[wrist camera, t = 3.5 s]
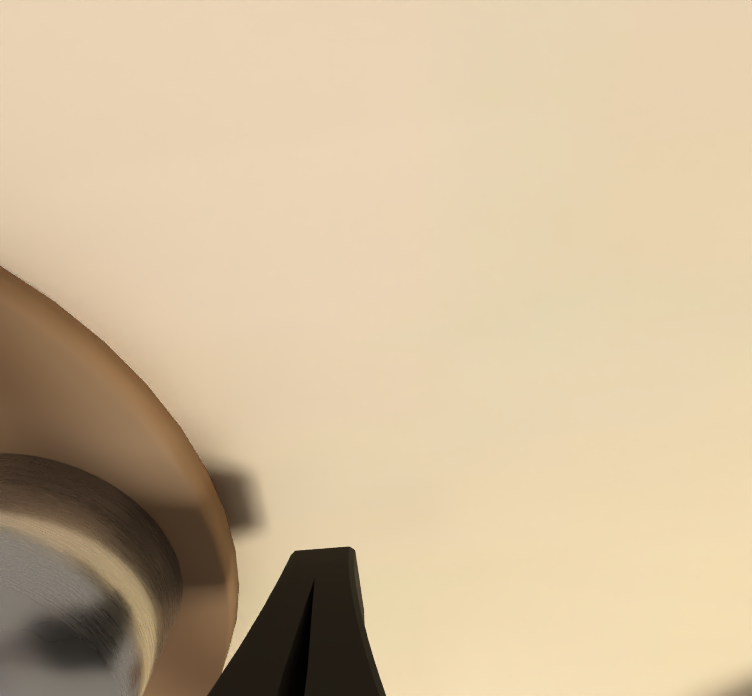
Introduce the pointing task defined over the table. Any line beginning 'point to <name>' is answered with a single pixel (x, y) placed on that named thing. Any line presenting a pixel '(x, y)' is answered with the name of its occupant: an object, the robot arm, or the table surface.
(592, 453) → the table surface
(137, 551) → the cover
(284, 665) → the robot arm
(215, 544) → the turntable
